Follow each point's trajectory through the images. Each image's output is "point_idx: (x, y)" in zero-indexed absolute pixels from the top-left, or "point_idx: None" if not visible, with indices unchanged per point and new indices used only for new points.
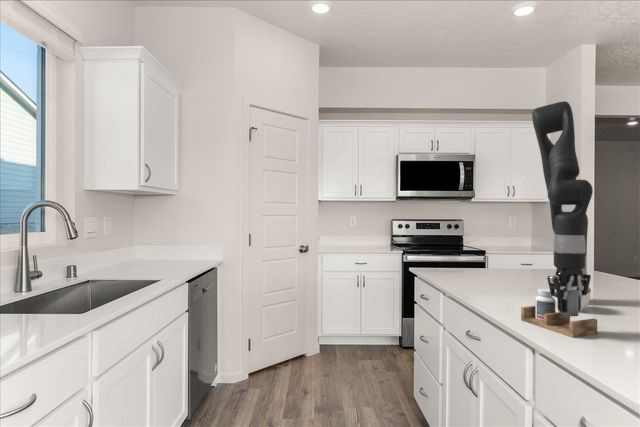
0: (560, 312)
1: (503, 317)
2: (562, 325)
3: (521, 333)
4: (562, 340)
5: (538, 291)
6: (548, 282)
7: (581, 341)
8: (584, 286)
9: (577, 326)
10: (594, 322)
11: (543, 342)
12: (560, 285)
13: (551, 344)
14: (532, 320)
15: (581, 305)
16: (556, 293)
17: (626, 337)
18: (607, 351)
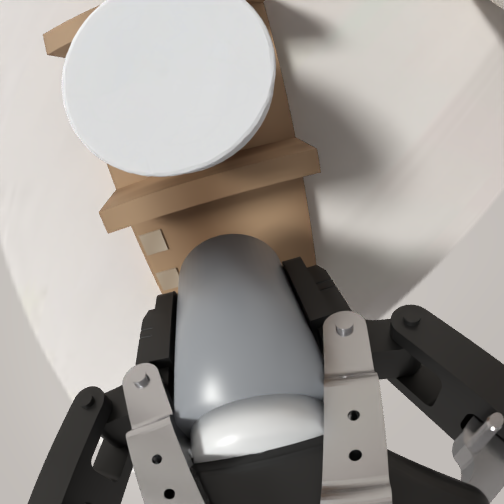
0: (179, 278)
1: (24, 8)
2: (209, 213)
3: (8, 262)
4: (122, 335)
5: (68, 79)
6: (34, 495)
7: None
8: (427, 408)
9: None
10: None
11: (57, 343)
12: (178, 462)
13: (75, 358)
14: None
15: (502, 7)
16: (103, 438)
17: (376, 305)
18: None
